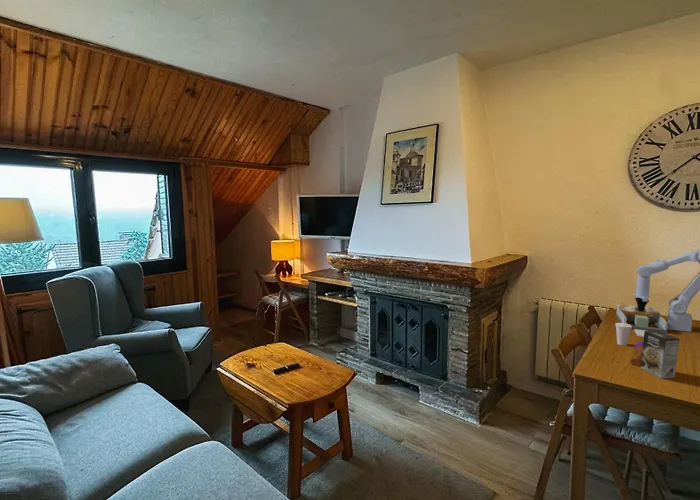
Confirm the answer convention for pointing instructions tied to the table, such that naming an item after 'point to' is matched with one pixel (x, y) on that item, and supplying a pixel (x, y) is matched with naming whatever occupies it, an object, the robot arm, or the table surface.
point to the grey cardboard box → (659, 354)
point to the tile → (639, 332)
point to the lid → (635, 309)
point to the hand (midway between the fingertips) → (640, 311)
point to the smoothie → (623, 332)
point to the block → (641, 321)
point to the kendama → (637, 358)
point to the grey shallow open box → (655, 319)
